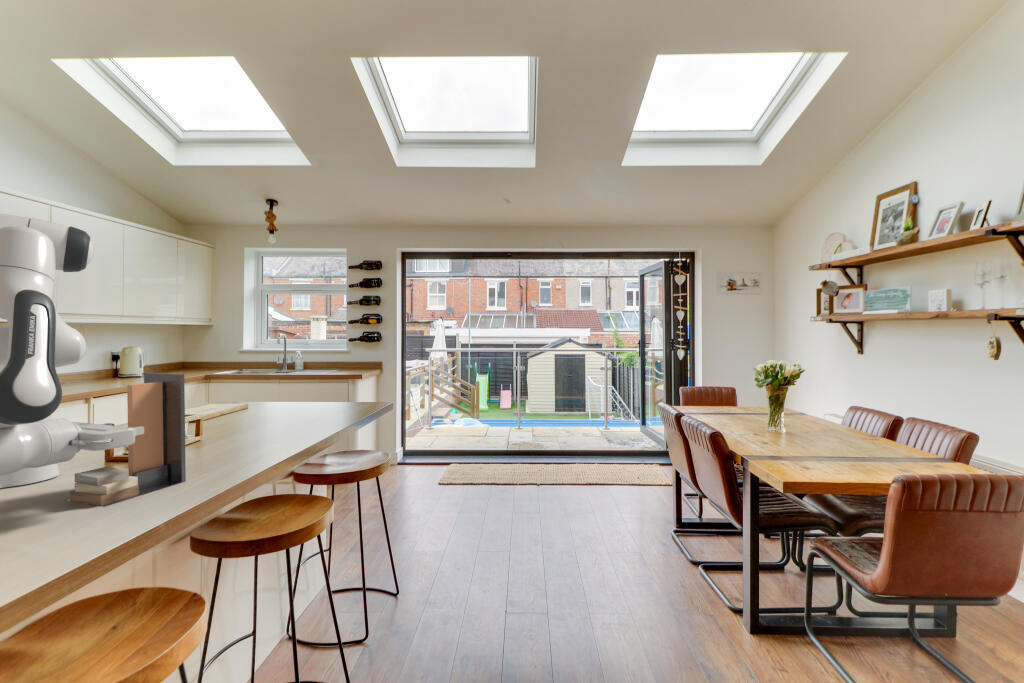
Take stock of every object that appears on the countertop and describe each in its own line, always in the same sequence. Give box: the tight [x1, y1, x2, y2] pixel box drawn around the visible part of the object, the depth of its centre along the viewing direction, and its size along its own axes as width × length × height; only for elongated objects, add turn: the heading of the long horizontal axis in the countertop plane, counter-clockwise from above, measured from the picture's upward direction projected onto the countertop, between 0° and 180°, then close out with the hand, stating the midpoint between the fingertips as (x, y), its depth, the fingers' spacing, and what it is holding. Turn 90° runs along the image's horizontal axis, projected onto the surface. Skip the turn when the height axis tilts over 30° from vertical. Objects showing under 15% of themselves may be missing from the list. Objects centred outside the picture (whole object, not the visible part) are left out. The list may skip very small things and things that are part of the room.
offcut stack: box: [69, 466, 139, 507], centre depth 108 cm, size 8×10×6 cm
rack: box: [65, 372, 187, 508], centre depth 112 cm, size 18×12×28 cm, turn 162°
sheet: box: [126, 382, 164, 476], centre depth 116 cm, size 7×2×24 cm, turn 162°
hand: (127, 428), depth 112 cm, fingers open, 8 cm apart
